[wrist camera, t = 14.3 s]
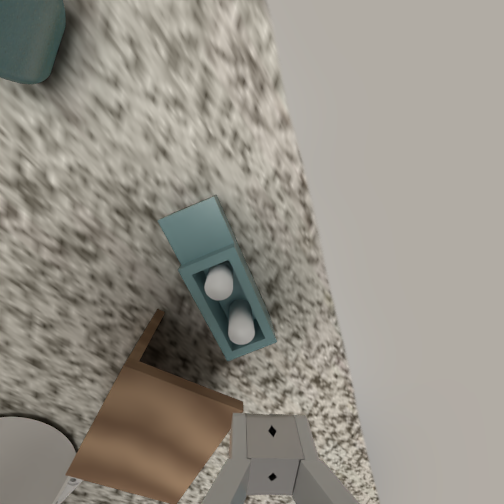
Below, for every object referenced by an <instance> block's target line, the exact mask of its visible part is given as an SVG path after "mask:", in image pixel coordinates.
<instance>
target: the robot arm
mask: <svg viewBox="0 0 504 504" xmlns="http://www.w3.org/2000/svg"><path fill="white" fill-rule="evenodd" d="M75 455H76V452H75V450H74V447H73V445H72V444H71V442H70V441H69V440H68V438H67V437H66V436H65V435H63V434H62V433H61V432H60V431H58V430H57V429H55V428H54V427H52V426H50V425H48V424H45V423H43V422H40V421H37V420H33V419H29V418H23V417H1V418H0V504H61V503H62V502H63V501H64V500H65V499H66V498H67V497H68V496H69V495H70V494H71V493H72V491H73V490H74V489H75V488H76V487H77V486H78V485H79V484H80V483H81V482H82V481H83V480H81V479H78V478H74V477H70V476H66V475H65V474H66V472H67V470H68V469H69V467H70V465H71V463H72V461H73V459H74V457H75ZM266 494H271V495H293V496H292V497H293V499H294V501H295V503H296V504H359V502H358V501H357V500H356V499H355V498H354V496H353V495H352V494H351V493H350V492H349V490H348V489H347V488H346V487H345V486H344V485H343V483H342V482H341V481H340V480H339V479H338V477H337V476H336V475H335V474H334V473H333V471H332V470H331V469H330V468H329V467H328V466H327V464H326V463H325V462H324V461H323V460H319V457H318V454H317V450H316V447H315V443H314V440H313V436H312V433H311V430H310V426H309V423H308V419H307V417H306V416H305V415H284V414H269V415H264V414H249V413H246V414H245V413H233V415H232V424H231V433H230V445H229V459H227V461H226V462H225V464H224V466H223V467H222V469H221V471H220V473H219V474H218V476H217V478H216V479H215V481H214V483H213V484H212V486H211V488H210V490H209V491H208V493H207V495H206V496H205V498H204V500H203V502H202V503H201V504H243V503H244V501H245V499H246V495H266Z"/></svg>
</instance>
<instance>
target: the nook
mask: <svg viewBox="0 0 504 504" xmlns="http://www.w3.org/2000/svg"><path fill="white" fill-rule="evenodd" d="M164 313H165V312H164V311H161V310H159V309H157V311H156V312H155V314H154V316H153V317H152V319H151V321H150V322H149V324H148V326H147V327H146V329H145V331H144V332H143V334H142V336H141V337H140V339H139V341H138V342H137V344H136V346H135V347H134V349H133V351H132V352H131V354H130V356H129V357H128V359H127V361H126V362H125V364H124V366H123V367H122V369H121V371H120V373H119V375H118V377H117V379H116V380H115V382H114V384H113V386H112V388H111V390H110V392H109V394H108V395H107V397H106V399H105V401H104V403H103V405H102V407H101V409H100V410H99V412H98V414H97V416H96V418H95V420H94V422H93V424H92V425H91V427H90V429H89V431H88V433H87V435H86V437H85V439H84V440H83V442H82V444H81V446H80V448H79V450H78V452H77V454H76V455H75V457H74V459H73V461H72V463H71V465H70V467H69V469H68V470H67V472H66V474H65V475H66V476H70V477H74V478H78V479H81V480H85V481H89V482H92V483H96V484H100V485H104V486H107V487H111V488H115V489H118V490H122V491H126V492H129V493H133V494H137V495H141V496H144V497H148V498H152V499H155V500H159V501H163V502H166V503H170V504H177V502H178V501H179V500H180V498H181V497H182V496H183V494H184V493H185V491H186V490H187V489H188V487H189V486H190V484H191V483H192V482H193V480H194V479H195V478H196V476H197V475H198V473H199V472H200V471H201V469H202V468H203V466H204V465H205V464H206V462H207V461H208V459H209V458H210V457H211V455H212V454H213V453H214V451H215V450H216V448H217V447H218V446H219V444H220V443H221V441H222V440H223V439H224V437H225V436H226V434H227V433H228V432H229V430H230V429H231V424H232V415H233V413H242V412H243V402H242V401H239V400H237V399H234V398H232V397H229V396H227V395H224V394H222V393H219V392H216V391H214V390H211V389H209V388H206V387H204V386H201V385H199V384H196V383H193V382H191V381H188V380H186V379H183V378H181V377H178V376H176V375H173V374H170V373H168V372H165V371H163V370H160V369H158V368H155V367H153V366H150V365H148V364H145V363H142V362H140V361H139V360H140V359H141V357H142V355H143V353H144V351H145V349H146V347H147V345H148V344H149V342H150V340H151V338H152V336H153V334H154V332H155V330H156V328H157V327H158V325H159V323H160V321H161V319H162V317H163V315H164Z"/></svg>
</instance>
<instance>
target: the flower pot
mask: <svg viewBox="0 0 504 504" xmlns="http://www.w3.org/2000/svg"><path fill="white" fill-rule="evenodd" d="M65 26H66V19H65V8H64V3H63V0H0V77H1V78H4V79H7V80H10V81H14V82H17V83H22V84H37V83H40V82H42V81H44V80H45V79H46V78H48V77H49V76H50V74H51V71H52V68H53V64H54V61H55V58H56V54H57V51H58V48H59V45H60V42H61V39H62V36H63V33H64V30H65Z"/></svg>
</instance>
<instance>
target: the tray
mask: <svg viewBox="0 0 504 504" xmlns="http://www.w3.org/2000/svg"><path fill="white" fill-rule="evenodd" d="M158 222H159V224H160V226H161V228H162V230H163V232H164V234H165V235H166V237H167V239H168V241H169V243H170V245H171V247H172V249H173V250H174V252H175V254H176V256H177V258H178V260H179V262H180V264H181V266H180V267H179V269H178V271H179V273H180V275H181V277H182V279H183V280H184V282H185V284H186V286H187V288H188V290H189V291H190V293H191V295H192V297H193V299H194V301H195V302H196V304H197V306H198V308H199V310H200V312H201V313H202V315H203V317H204V319H205V321H206V323H207V325H208V326H209V328H210V330H211V332H212V334H213V336H214V337H215V339H216V341H217V343H218V345H219V347H220V348H221V350H222V352H223V354H224V356H225V358H226V360H227V361H230V360H232V359H235V358H237V357H240V356H243V355H245V354H248V353H250V352H253V351H255V350H258V349H261V348H263V347H266V346H268V345H271V344H273V343H276V342H277V340H276V337H275V333H274V329H273V325H272V322H271V318H270V315H269V313H268V311H267V309H266V306H265V304H264V302H263V299H262V297H261V295H260V293H259V290H258V288H257V286H256V284H255V281H254V279H253V277H252V274H251V272H250V270H249V268H248V265H247V263H246V261H245V259H244V256H243V254H242V252H241V249H240V247H239V245H238V243H237V240H236V238H235V236H234V234H233V231H232V229H231V227H230V224H229V222H228V220H227V218H226V215H225V213H224V211H223V209H222V206H221V204H220V202H219V200H218V197H217V195H215V196H213V197H210V198H208V199H206V200H203V201H201V202H198V203H196V204H194V205H191V206H189V207H187V208H184V209H182V210H180V211H177V212H175V213H173V214H170V215H168V216H166V217H164V218H162V219H160V220H158Z"/></svg>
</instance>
